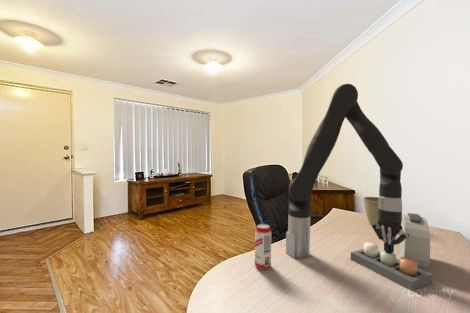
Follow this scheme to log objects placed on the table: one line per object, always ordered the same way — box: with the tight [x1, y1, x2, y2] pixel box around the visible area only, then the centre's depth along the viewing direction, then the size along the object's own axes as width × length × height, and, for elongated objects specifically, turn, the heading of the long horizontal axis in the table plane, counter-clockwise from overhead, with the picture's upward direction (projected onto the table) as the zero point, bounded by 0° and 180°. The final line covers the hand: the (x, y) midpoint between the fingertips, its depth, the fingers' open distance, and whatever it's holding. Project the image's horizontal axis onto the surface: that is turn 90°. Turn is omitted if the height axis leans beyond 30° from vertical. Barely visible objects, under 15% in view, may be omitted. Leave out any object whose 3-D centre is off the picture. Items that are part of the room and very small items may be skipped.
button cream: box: [363, 242, 379, 258], centre depth 93 cm, size 5×5×4 cm
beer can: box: [254, 223, 272, 271], centre depth 88 cm, size 6×6×16 cm
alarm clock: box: [399, 212, 431, 272], centre depth 93 cm, size 21×8×20 cm, turn 148°
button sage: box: [380, 249, 397, 267], centre depth 87 cm, size 5×5×4 cm
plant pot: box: [363, 196, 379, 226], centre depth 139 cm, size 15×15×16 cm
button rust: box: [399, 256, 418, 277], centre depth 80 cm, size 5×5×4 cm
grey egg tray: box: [350, 248, 434, 292], centre depth 87 cm, size 12×23×3 cm, turn 24°
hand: (388, 252), depth 87 cm, fingers closed
